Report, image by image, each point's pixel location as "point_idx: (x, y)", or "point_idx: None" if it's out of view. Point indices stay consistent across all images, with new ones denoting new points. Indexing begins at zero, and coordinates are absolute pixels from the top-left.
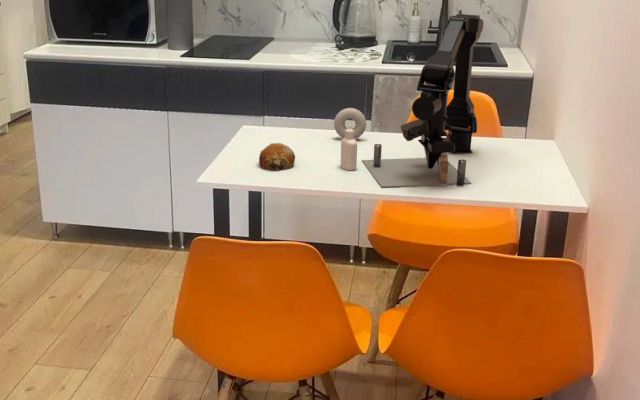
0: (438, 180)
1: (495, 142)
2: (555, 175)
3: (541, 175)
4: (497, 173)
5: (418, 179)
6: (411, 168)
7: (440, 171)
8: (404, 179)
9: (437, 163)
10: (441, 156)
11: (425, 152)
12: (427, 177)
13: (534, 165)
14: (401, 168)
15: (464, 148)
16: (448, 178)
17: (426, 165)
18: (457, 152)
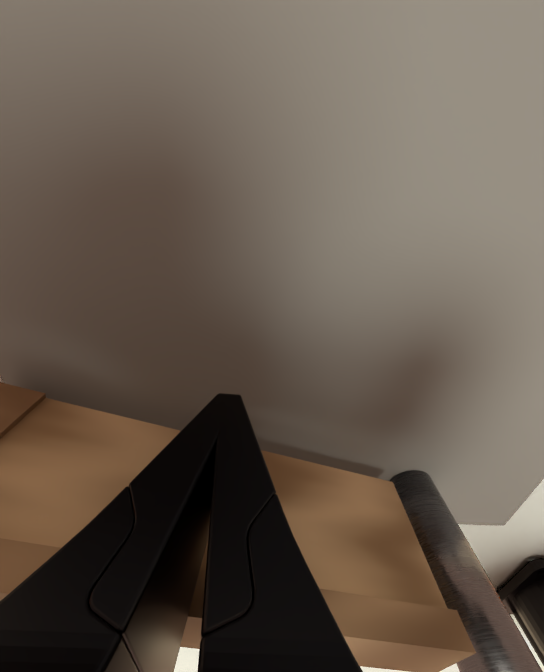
0: (80, 379)
1: (536, 656)
2: (188, 667)
3: (191, 653)
4: None
5: (88, 230)
6: (409, 282)
7: (162, 445)
8: (67, 42)
9: (411, 475)
10: None
11: (271, 542)
12: (150, 329)
13: None
14: (455, 174)
15: (523, 615)
16: None
17: (422, 412)
18: (521, 578)
